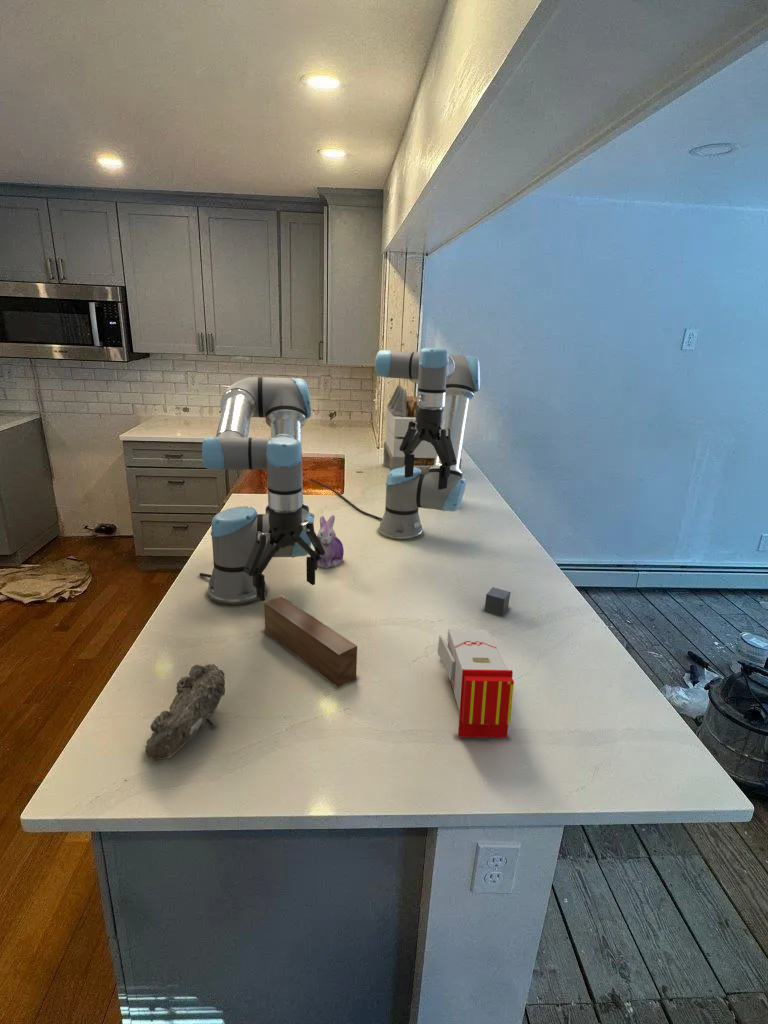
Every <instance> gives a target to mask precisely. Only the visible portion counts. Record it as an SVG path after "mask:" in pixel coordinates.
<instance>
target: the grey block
mask: <svg viewBox="0 0 768 1024" xmlns="http://www.w3.org/2000/svg"><path fill="white" fill-rule="evenodd" d="M510 597H511V591H508V590H505V589H501V588H499V587H494V586H492V587H491V588H490V590H489V591H488V592H487V593H486V595H485V603H484V612H486V613H491V614H494V615H496V616H501V617H503V616H504V615H505V614H506V612H507V611H508V610H509V606H510Z"/></svg>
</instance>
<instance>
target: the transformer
mask: <svg viewBox="0 0 768 1024" xmlns="http://www.w3.org/2000/svg"><path fill="white" fill-rule="evenodd" d="M407 394H408V393H407V390H406V389H404V388H403V387H402V385H399V384H398V385H397V386H396V388H395V390H394V392H393V394H392V395H391V398H390V400H389V402H388V404H387V405H386V413H385V414H386V415H385V423H386V428H385V438H384V442H383V466H384V467H388V468H389V472H390V471H391V470H393V469H396V468H401V467H405V465H404V457H405V454H404V452H403V451H400V449H399V448H400V446H401V444H402V441H403V439H404V437H405V435H406V432H407V430H408V425H409V422H410V421H416V409H417V408H418V407H419V406H418V405H417V396H415V395H414V396H413V395H412V396H411V395H407ZM442 408H443V407H442ZM417 432H418V431H416V433H417ZM416 433H415V435H416ZM415 435H414V436H415ZM413 439H414V437H413ZM462 453H463V449H462V450H461V454H462ZM412 454H414V467H417V466H418V467H432V466H433V465H434V461H435V454H436V450H435V448H434V446H433V445H432V444H431V442H430V443H429V442H427V441H421V443H420V444H419V445H418V446H417V448H416V449H415V450H414V451H413V453H412ZM462 461H463V460H462V456H461V457H460V464H459V469H460V471H461V472H462Z"/></svg>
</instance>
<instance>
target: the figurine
mask: <svg viewBox="0 0 768 1024" xmlns="http://www.w3.org/2000/svg"><path fill="white" fill-rule="evenodd" d="M335 518H336V515H334V514H332V515H331V516H330V517H329V518H328V520H326V518H325V516H324V515H321V516H320V517H319V530H318V532H317V533H316V535H317V537H318V539H319V541H320V543H321V545H322V547H323V549H324V551H325V554H324V555H320V557H321V558H320V560H319V561H318V567H320V568H321V567H322V568H331V567H337V566H338V565H340V564H342V562H343V559H344V554H345V553H344V552H345V551H344V544H343V543H342V541H341V540H340V539H339V538H338V537H337V536H336V532H335V530H334V524H335Z"/></svg>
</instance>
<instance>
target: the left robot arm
mask: <svg viewBox="0 0 768 1024" xmlns="http://www.w3.org/2000/svg"><path fill="white" fill-rule="evenodd" d="M219 408H220V412H221V414H220V418H219V422H218V425H217V429H216V433H215V436H211V437H210V436H209V437H205V438H204V439H203V440H202V446H201V448H202V449H201V457H202V464H203V466H204V468H205V469H207V470H213V471H214V470H215V471H266V473H267V474H266V475H267V505H266V507H265V513H258V511H257V510H256V508H254V507H252V506H250V507H249V506H246V505H245V506H235V507H229V508H227V509H224V510H222V511H219V512H217V513H216V514H214V516H213V517H212V518H211V527H210V529H211V531H210V536H211V545H212V560H213V561H212V562H213V569H212V572H211V574H209V573H203V572H200V573H199V574H198V575H199V577H205V578H210V580H209V583H208V586H207V593H208V598H209V599H210V600H212V601H213V602H215V603H218V604H221V605H227V606H238V605H246V604H250V603H253V602H255V601H257V600H260V601H261V602H263V603H264V602H266V591H267V582H266V580H265V577H266V576H265V575H264V573H263V572H264V571H265V569H266V568H267V566H268V565H269V563H270V562H271V560H272V559H273V558H292V559H294V558H298V557H306V561H305V563H306V582H307V583H309V584H310V586H311V585H312V586H315V585H316V571H318V568H319V566H318V561H319V560H320V558H321V557H320V555H324V554H325V551H324V549H323V547H322V545H321V543H320V541H319V539H318V537H317V533H316V531H315V525H314V524H315V523H314V521H315V513H313V512H310V510H309V509H310V508H309V506H308V504H306V503H305V501H304V488H303V487H304V485H303V483H304V482H303V447H302V446H303V445H302V442H303V441H302V428H303V427H304V426H305V425H306V423H307V419H310V418H311V416H312V405H311V396H310V391H309V386H308V383H307V382H306V380H305V379H304V378H299V377H297V378H296V377H292V376H289V377H268V376H250V377H246V378H243V379H240V380H238V381H236V382H234V383H232V384H231V385H230V386H229V387H227V388H226V390H225V391H224V392H223V394H222V396H221V398H220V403H219ZM252 418H259V419H260V418H261V419H265V423H266V425H267V426H268V427H270V437H249V433H250V424H251V419H252ZM312 547H313V548H312ZM308 555H309V556H308Z"/></svg>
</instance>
